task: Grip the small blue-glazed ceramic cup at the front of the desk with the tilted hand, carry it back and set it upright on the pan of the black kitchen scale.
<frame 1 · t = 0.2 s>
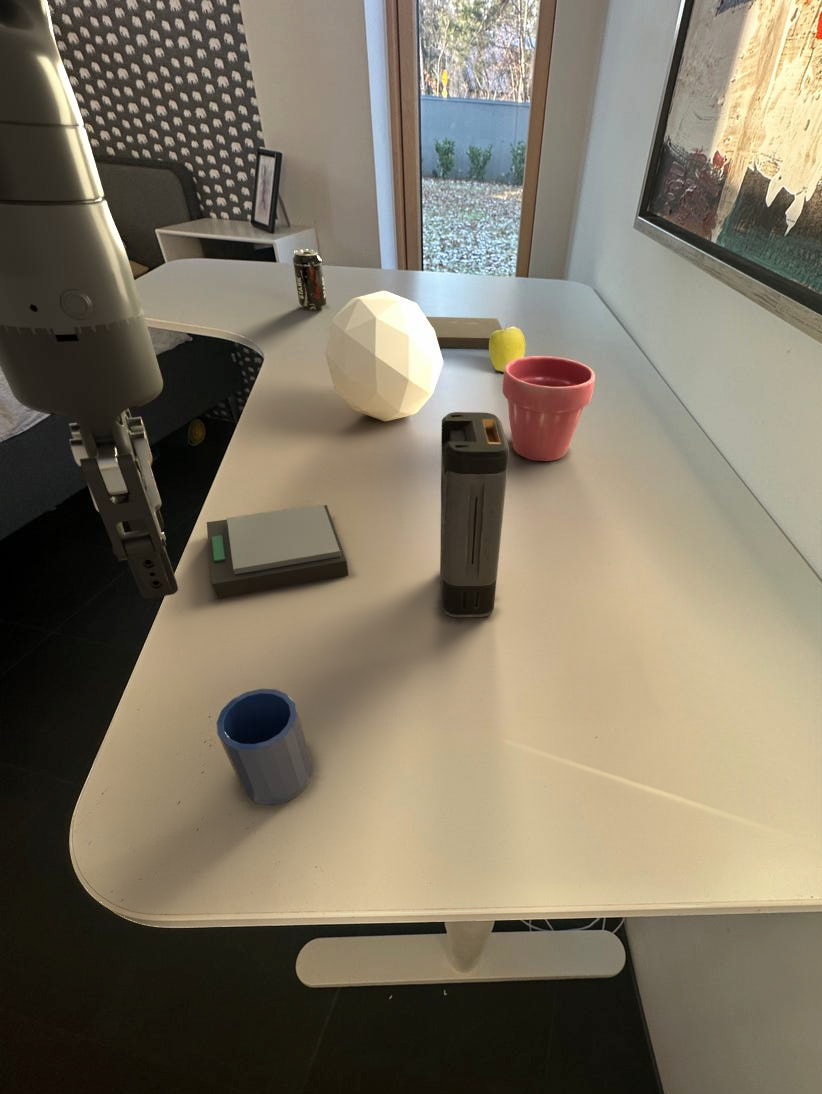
hand: (155, 560, 41), 18 cm above the table, tool pointing down, fingers open, 8 cm apart
cup: (277, 774, 49), on the table
geometric sculpture: (388, 414, 103), on the table
hardcover book: (453, 338, 135), on the table
apple: (505, 370, 122), on the table
beverage can: (313, 308, 146), on the table
electronic device: (466, 594, 68), on the table
flower pot: (539, 450, 96), on the table
kitchen scale: (278, 555, 71), on the table
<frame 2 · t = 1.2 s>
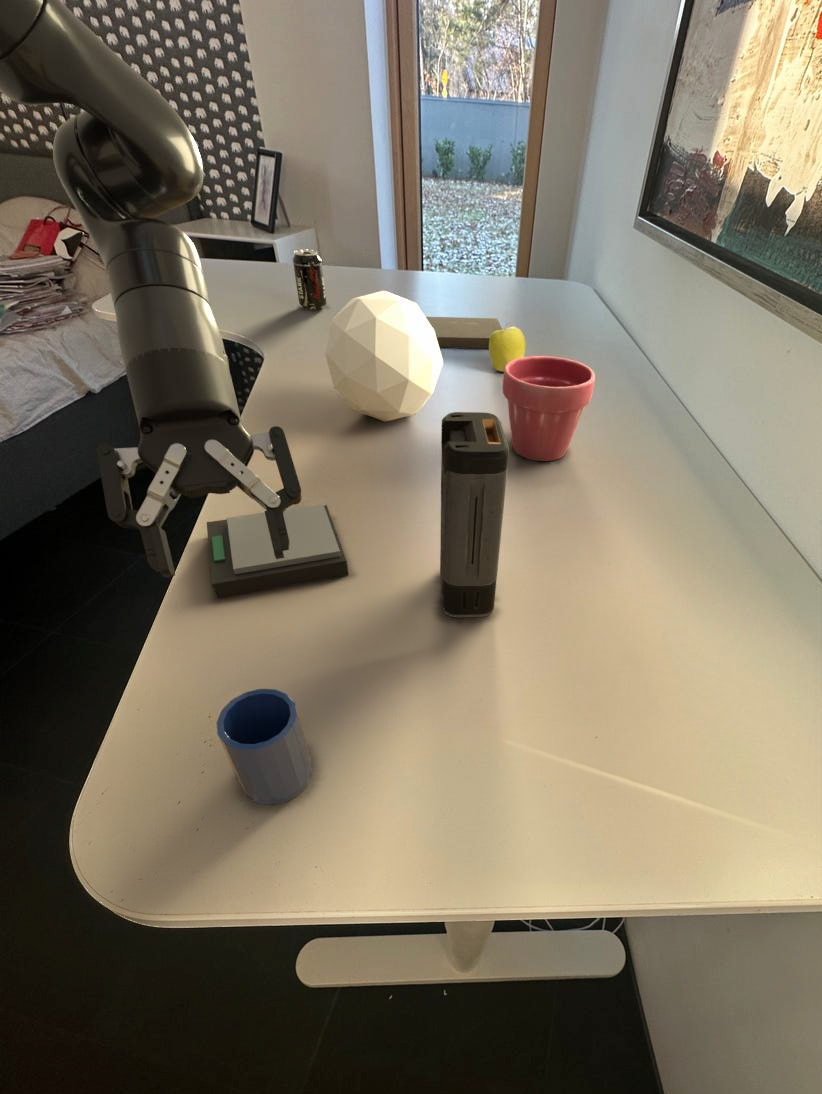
hand: (225, 566, 46), 14 cm above the table, tool tilted 45°, fingers open, 8 cm apart
nothing on the table moved.
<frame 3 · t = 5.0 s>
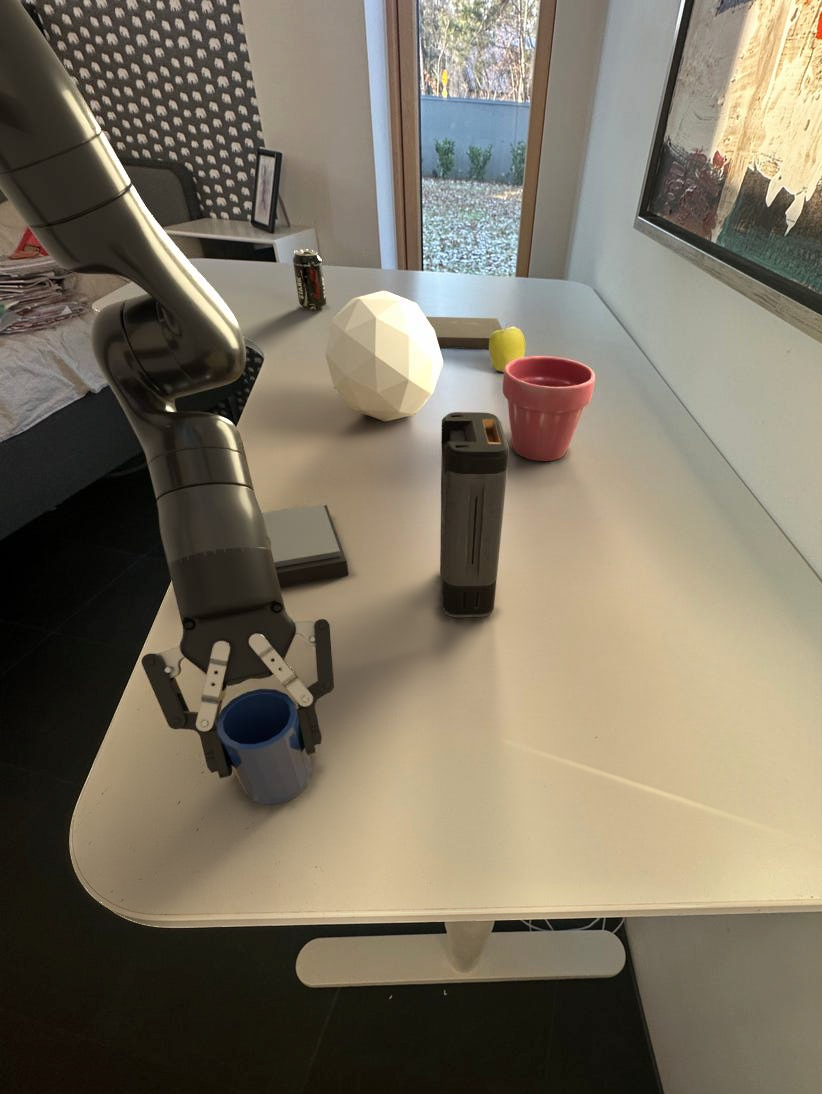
hand: (270, 762, 45), 4 cm above the table, tool tilted 45°, fingers closed on cup, 6 cm apart
cup: (277, 774, 49), on the table, touching gripper
everything else where it was.
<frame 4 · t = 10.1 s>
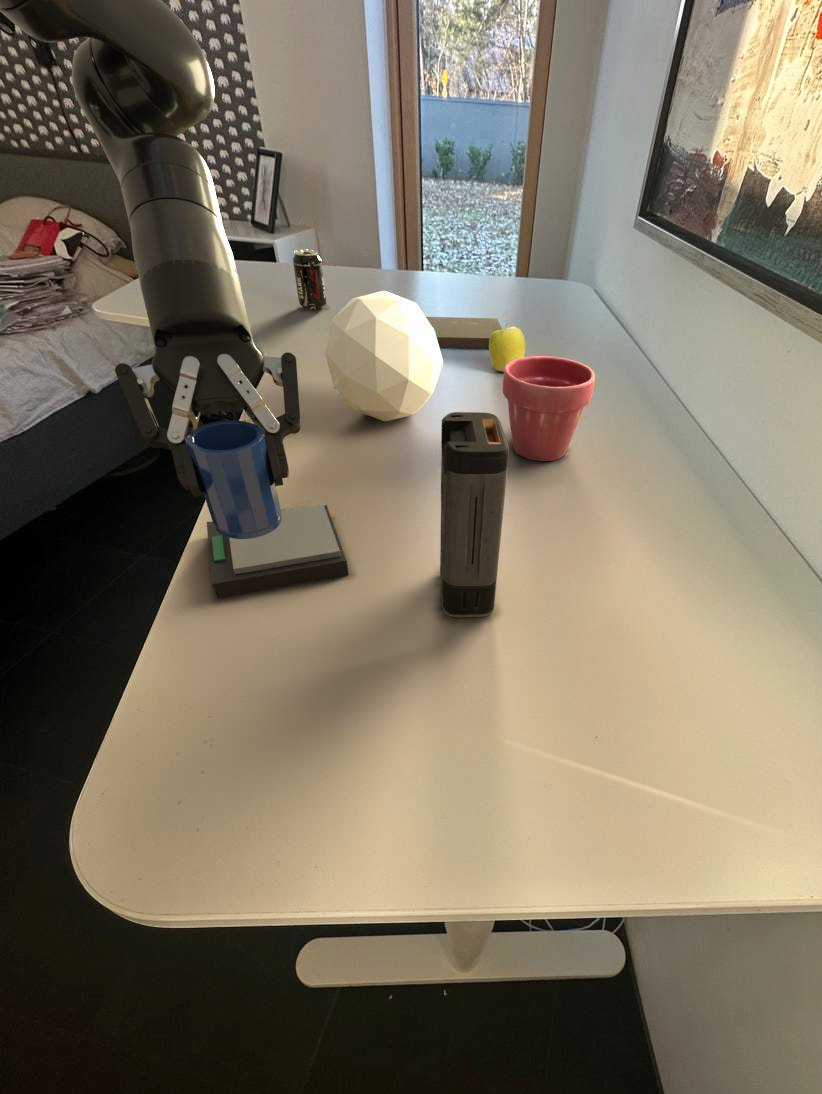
hand: (239, 487, 47), 18 cm above the table, tool tilted 45°, fingers closed on cup, 6 cm apart
cup: (249, 520, 51), point 14 cm above the table, touching gripper
everything else where it was.
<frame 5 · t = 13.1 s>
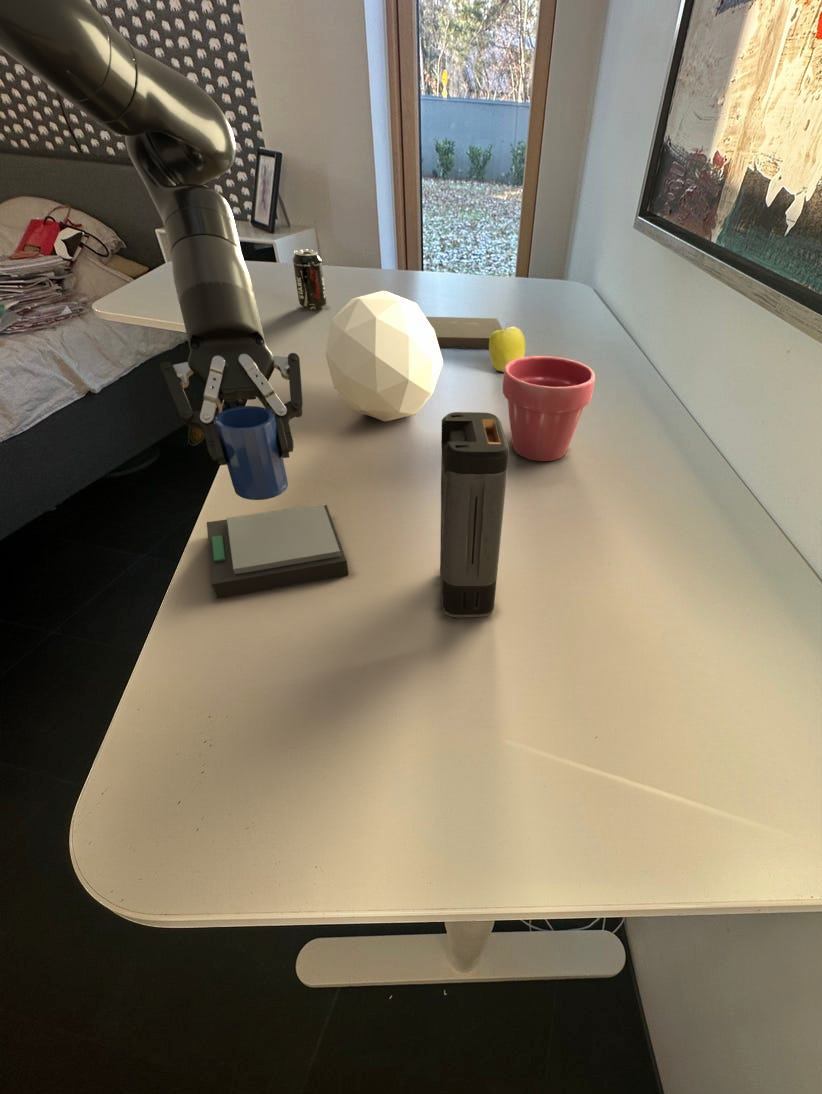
hand: (254, 458, 60), 14 cm above the table, tool tilted 45°, fingers closed on cup, 6 cm apart
cup: (261, 486, 64), point 10 cm above the table, touching gripper
everything else where it was.
when the fingers open (7 cm above the table, at t = 15.5 s): cup stays where it is, resting on kitchen scale.
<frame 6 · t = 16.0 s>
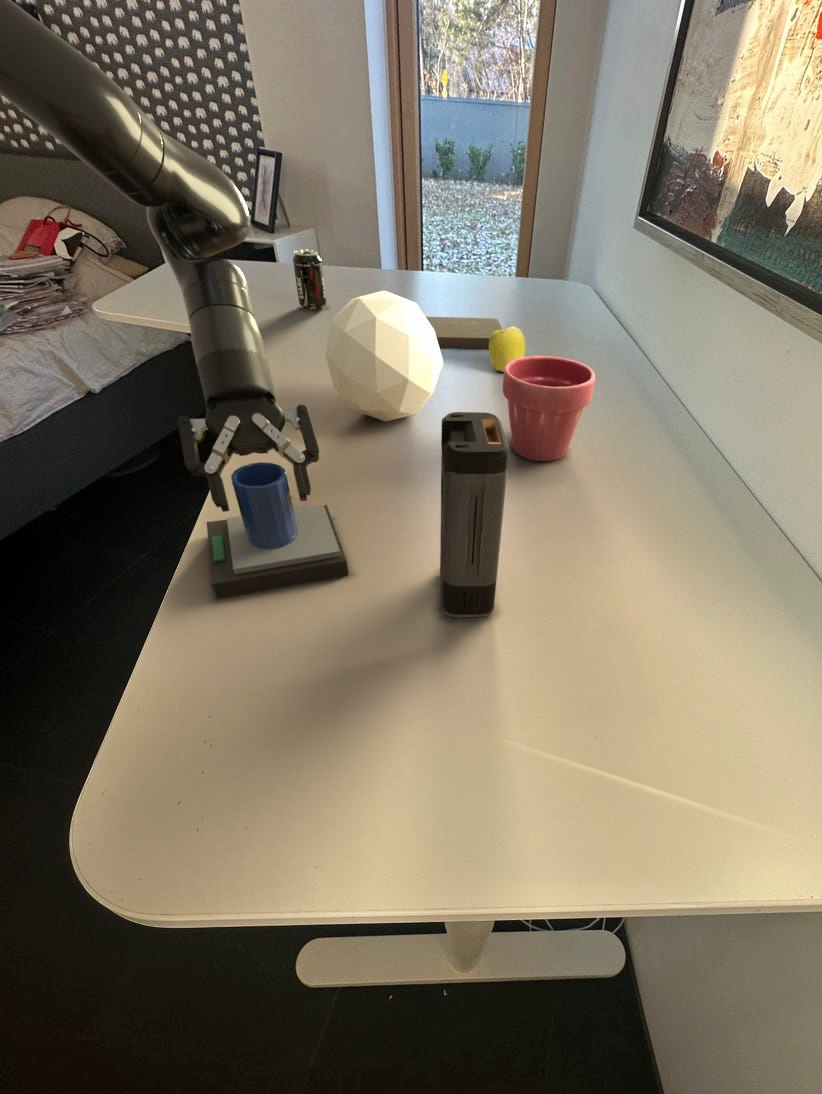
hand: (265, 504, 64), 8 cm above the table, tool tilted 45°, fingers open, 8 cm apart
cup: (273, 535, 69), point 3 cm above the table, touching kitchen scale
everything else where it was.
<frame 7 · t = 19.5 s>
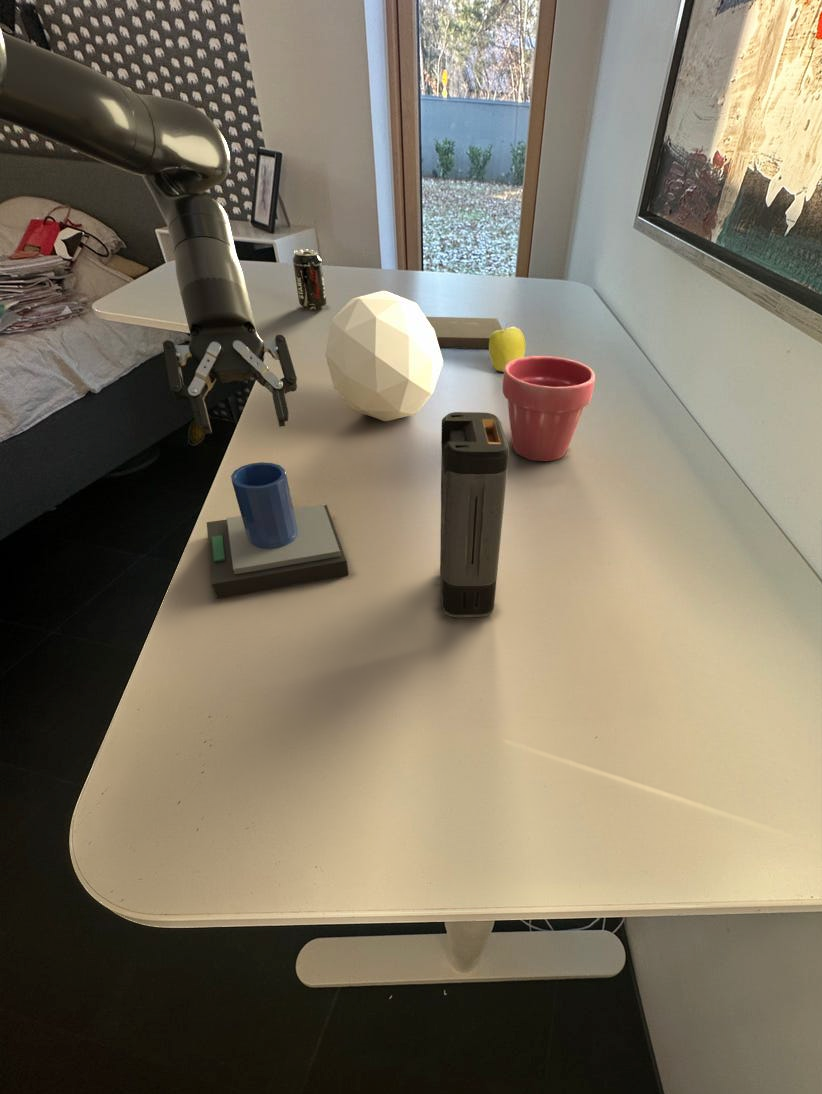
hand: (245, 427, 69), 12 cm above the table, tool tilted 45°, fingers open, 8 cm apart
nothing on the table moved.
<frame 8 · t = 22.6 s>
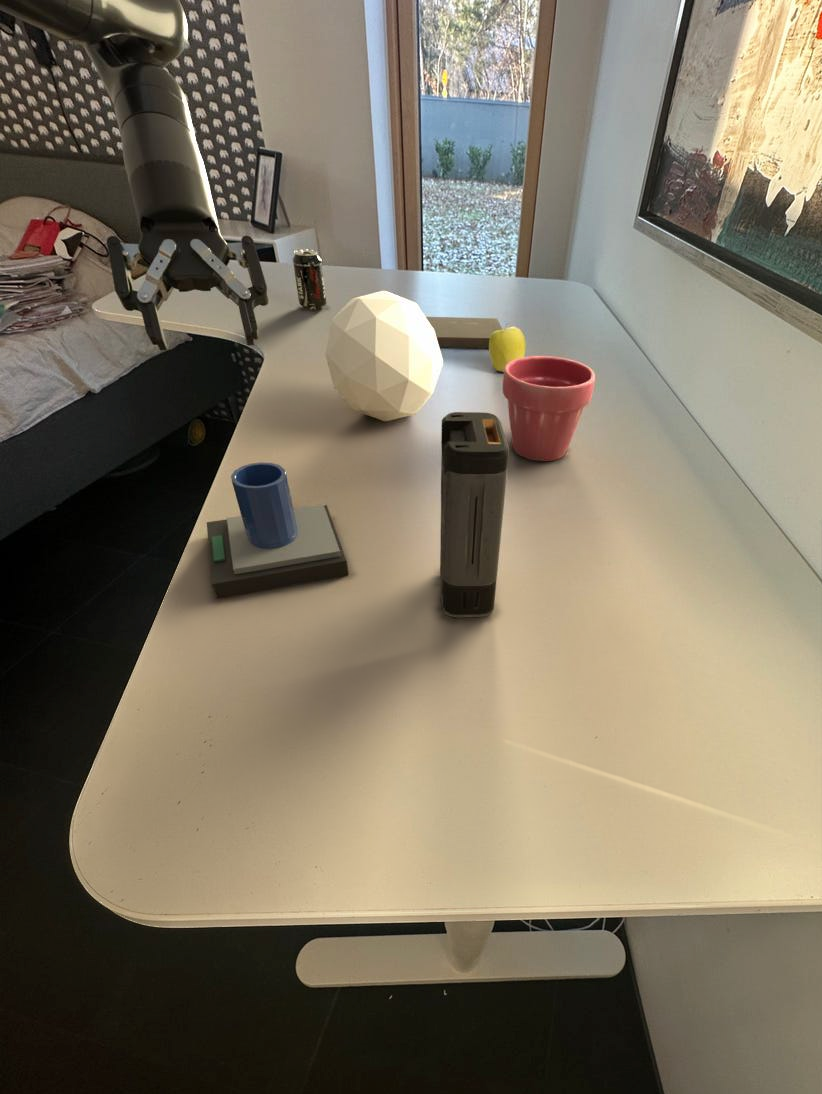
hand: (207, 344, 59), 23 cm above the table, tool tilted 45°, fingers open, 8 cm apart
nothing on the table moved.
at the end: cup inside the target area on the kitchen scale (1.0 cm from its centre), point 3.0 cm above the kitchen scale's base; cup tilted 0°; the gripper is holding nothing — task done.
